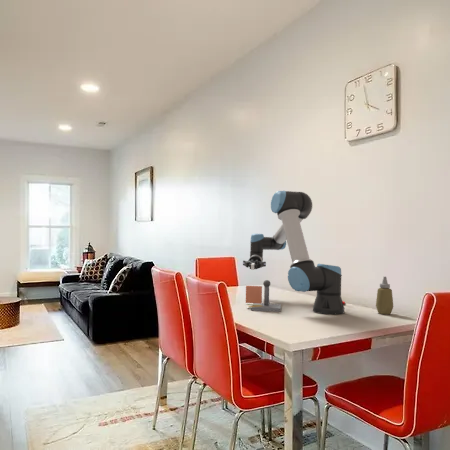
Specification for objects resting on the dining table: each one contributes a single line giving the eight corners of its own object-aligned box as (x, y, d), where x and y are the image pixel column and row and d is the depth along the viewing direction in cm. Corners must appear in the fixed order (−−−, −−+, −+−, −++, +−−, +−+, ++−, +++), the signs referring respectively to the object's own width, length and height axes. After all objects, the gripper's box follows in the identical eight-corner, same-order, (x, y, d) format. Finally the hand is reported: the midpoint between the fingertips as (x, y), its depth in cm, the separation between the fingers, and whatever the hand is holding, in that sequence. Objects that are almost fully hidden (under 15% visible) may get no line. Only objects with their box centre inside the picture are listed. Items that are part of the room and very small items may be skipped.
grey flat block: (280, 306, 222) (280, 303, 222) (280, 311, 208) (280, 308, 208) (247, 305, 225) (247, 301, 225) (245, 310, 211) (245, 306, 211)
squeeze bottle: (380, 311, 214) (380, 275, 215) (396, 313, 209) (396, 276, 209) (372, 313, 209) (373, 276, 209) (388, 316, 203) (389, 278, 203)
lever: (270, 304, 218) (270, 279, 218) (269, 305, 214) (270, 280, 214) (246, 303, 219) (246, 278, 220) (245, 304, 216) (245, 279, 216)
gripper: (266, 269, 243) (264, 274, 219) (243, 268, 244) (239, 273, 221) (266, 255, 242) (265, 260, 219) (243, 254, 244) (240, 259, 221)
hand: (252, 267), depth 220 cm, fingers closed
